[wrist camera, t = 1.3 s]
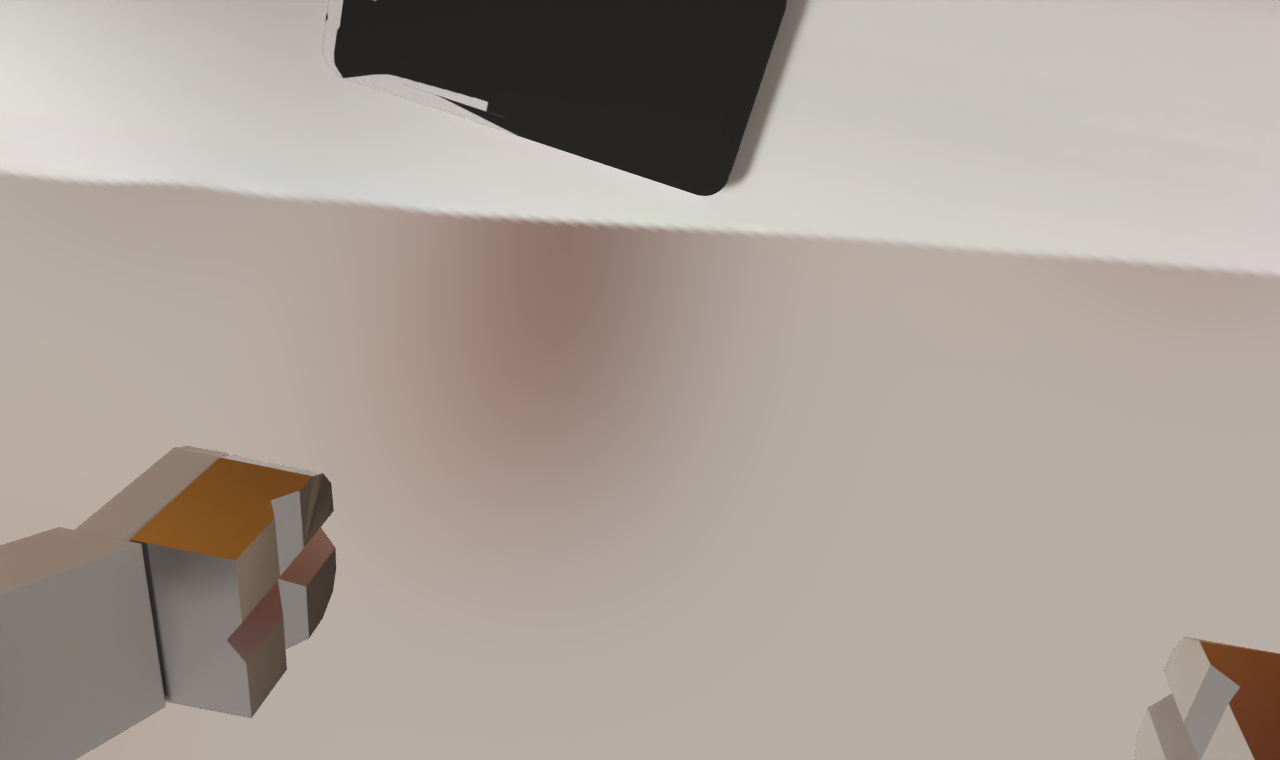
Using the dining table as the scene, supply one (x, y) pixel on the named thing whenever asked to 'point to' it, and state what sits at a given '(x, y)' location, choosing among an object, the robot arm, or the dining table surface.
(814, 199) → the dining table surface
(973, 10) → the dining table surface
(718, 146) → the smartphone
